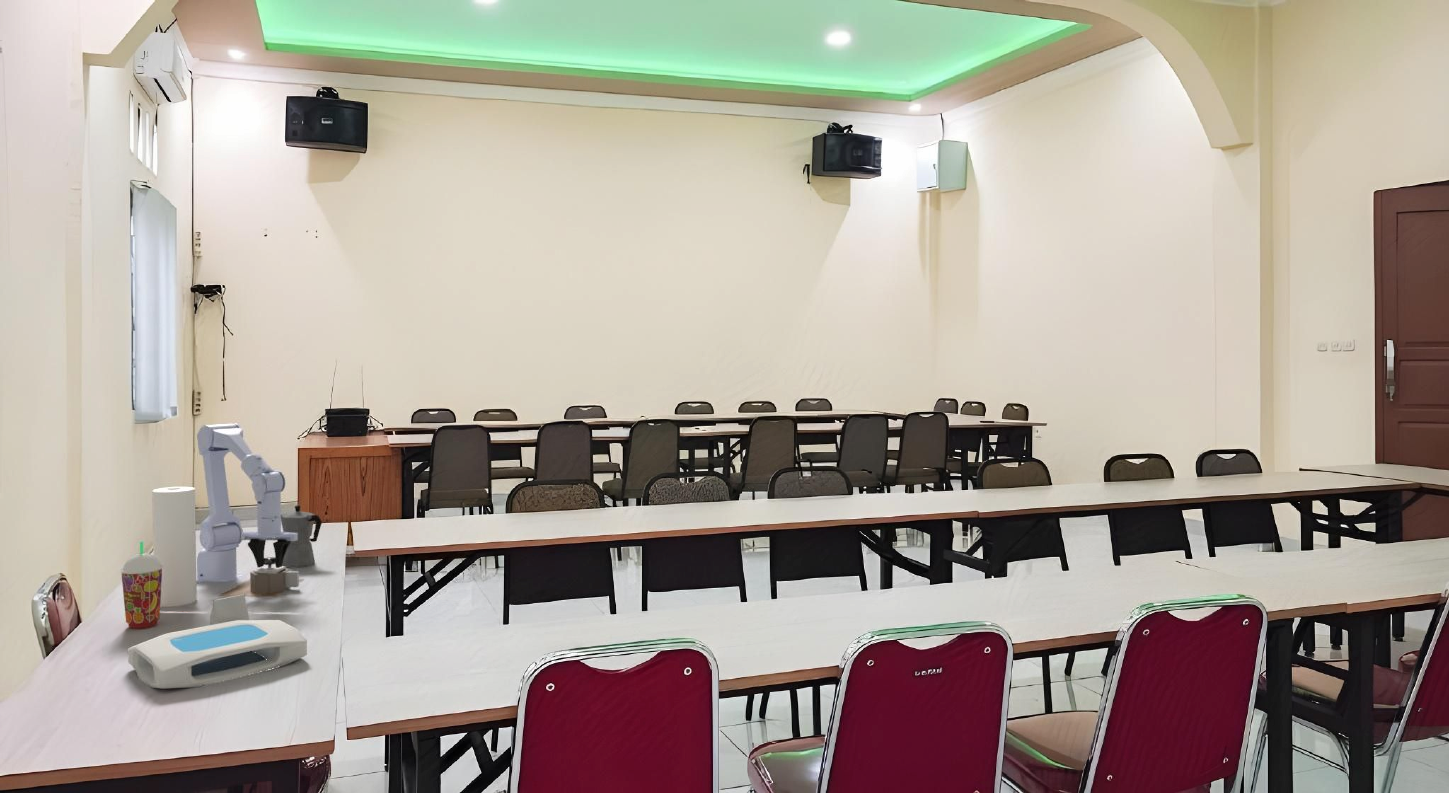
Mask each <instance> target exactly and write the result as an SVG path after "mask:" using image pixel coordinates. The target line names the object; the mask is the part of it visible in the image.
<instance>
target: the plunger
mask: <svg viewBox="0 0 1449 793" xmlns="http://www.w3.org/2000/svg"><path fill="white" fill-rule="evenodd" d="M272 565H275V557H274V556H268V557H264V566H268V570H271V566H272Z"/></svg>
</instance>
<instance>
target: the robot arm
mask: <svg viewBox="0 0 1449 793" xmlns="http://www.w3.org/2000/svg"><path fill="white" fill-rule="evenodd" d="M196 440H197V447H198V453H199V455H201V456H202V463H203V469H204V477H205V478H204V479H205V485H206V486H205V488H206V494H207V503H208V510H209V511H208V512H209V515H208V516H207V517H206V518H205V519H204V520H203V521H202V522H201V523H200V532H199V542H200V545H201V546H202V547H203V548H202V549H201V550H199V552H198V554H197V556H196V583H203V582H231V581H234V580H235V579H237V578H240V577H241V576H243V574H238V573H237V572H238V570H237V548H239V546H240V544H241V543H242V542H243V541H249V542H248V543H247V546H248V548H249V549H250V551H251V553H252V555H253V557H254V560H255V564H256V566H257V568H261V567H263V566H265V565H264V558H265V546H266V541H274V542H273V543H272V546H273V550H274V556H275V564H274V566H276V568H279V567H281V566H282V564H283V559H284V556H285V553H286V551H287V548H288V546H289V545H290V543H291V541H296V540H298V533H291V532H283V530H282V522H281V515H282V507H281V506H282V500H281V495H282V494H281V493H282V492H283V491H284V490H285V487H286V478H285V475H284V474H283V472H282V471H281V470H276V469H272V467H271V466H270V465H269V464H268V463H267V462H266V460H264V458H263V457H262V456H261V455H260V454H257V453H253V451H252V450H251V448H250V447H249V445H248V444H247V442H246V441H245V440H244V431H243V429H242V428H241V426H240V425H239V423H236V422H232V423H224V424H222V423H221V424H203V425H202V426H200V428H199V430H198V432H197V434H196ZM228 453H232V454H233V455H234V456H235V457H236V459H238V460H239V461H240V462H241V464H240V468H241V470H242V471H243V473H244V474H246V476H247V477H248V479H249V480H251V482H252V483H251V488H252V491H253V493H254V499H255V501H256V502H257V504H256V506H257V507H256V510H257V512H256V513H257V514H256V517H257V519H256V520H257V521H256V523H257V531H244V529H243V526H242V524H241V522H240V521H241V520H240V517H238V516H237V515H235V514H234V513H232V512H231V508H230V499H229V490H228V483H227V482H228V481H227V475H226V474H227V473H226V466H225V457H226V456H227V454H228Z"/></svg>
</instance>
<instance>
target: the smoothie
mask: <svg viewBox="0 0 1449 793" xmlns="http://www.w3.org/2000/svg"><path fill="white" fill-rule="evenodd" d="M162 568H163V566H162V565H161V564H160V562H159V560H158V559H157V558H156V557H155V556H154V554H151V553H148V552H144V542H143V541H139V553H136V554H134V555H132V556H130V557H129V558H128V559H127V560H126V561H125V563H124V564H123V568H121V569H120V572H121V582H122V593H123V604H124V612H125V613H124V614H125V615H124V616H125V623H126V624H127V625H128V627H129V628H130V629H134V630H135V629H136V630H140V629H147V628H148V627H149V628H153V627H155V626H156V625H157V624H158V620H160V619H161V618H160V617H161V606H160V601H161V582H162Z"/></svg>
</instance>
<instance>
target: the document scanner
mask: <svg viewBox="0 0 1449 793" xmlns="http://www.w3.org/2000/svg"><path fill="white" fill-rule="evenodd" d="M127 650H128V651H127V653H128V656H127V657H128V658H127V660H128V661H127V662H128V664H130V665H131V667H133V669H134V670H135V672H136V676H137V678H138V679H139V680H141V681H142V682H143V683H144V684H146V685H147V686H148V687H149V688H151V689H154V688H155V689H185V688H187V689H188V688H199V687H203V686H202V685H205V686H209V685H213V684H212V683H214V684H218V683H222V682H224V681H223V680H227V681H230V679H231V680H233V679H232V678H235V679H239V678H238V677H240V676H244V675H248V676H250V675H249V674H252V673H257V672H260V671H266V670H268V669H272V668H276V667H278V666H282V667H284V666H286V665H288V664H291V663H293V662H296V661H298V660H300V659H301V658H304V657H306V656H307V655H308V641H307V639H306V638H305V637H304V636H303V635H302V633H300V631H299V630H298V629H297V628H296V627H294V626H292V625H290V624H288V623H287V622H285V621H282V620H281V619H280V620H279V619H251V620H250V619H249V620H236V621H230V622H225V623H220V624H214V625H210V624H209V625H205V626H204V625H203V626H199V627H194V628H188V629H184V630H179V631H174V632H172V631H171V632H168V633H164V634H161V635H159V636H156V637H154V638H151V639H148V640H146V641H143V642H141V643H137V644H136V645H133V646H131V647H127ZM250 651H253V652H256V653H257V654H256V653H255V654H256V655H259V654H260V655H262V656H264V657H265V658H266V659H267V660H265V658H264V657H263V658H264V659H263V660H261V661H257V662H252V663H248V664H244V665H241V666H237V667H233V668H232V667H231V668H228V669H223V670H219V671H214V672H209V673H208V672H207V673H204V674H198V675H192V666H196V665H198V664H200V663H204V662H206V661H210V660H214V659H219V658H225V657H229V656H233V655H238V654H242V653H243V654H244V653H248V652H250ZM253 652H252V653H253ZM260 655H259V656H260ZM262 656H261V657H262ZM266 672H267V671H266ZM257 674H258V673H257ZM244 677H245V676H244ZM240 678H241V677H240ZM221 681H222V682H221ZM217 682H218V683H217Z"/></svg>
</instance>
